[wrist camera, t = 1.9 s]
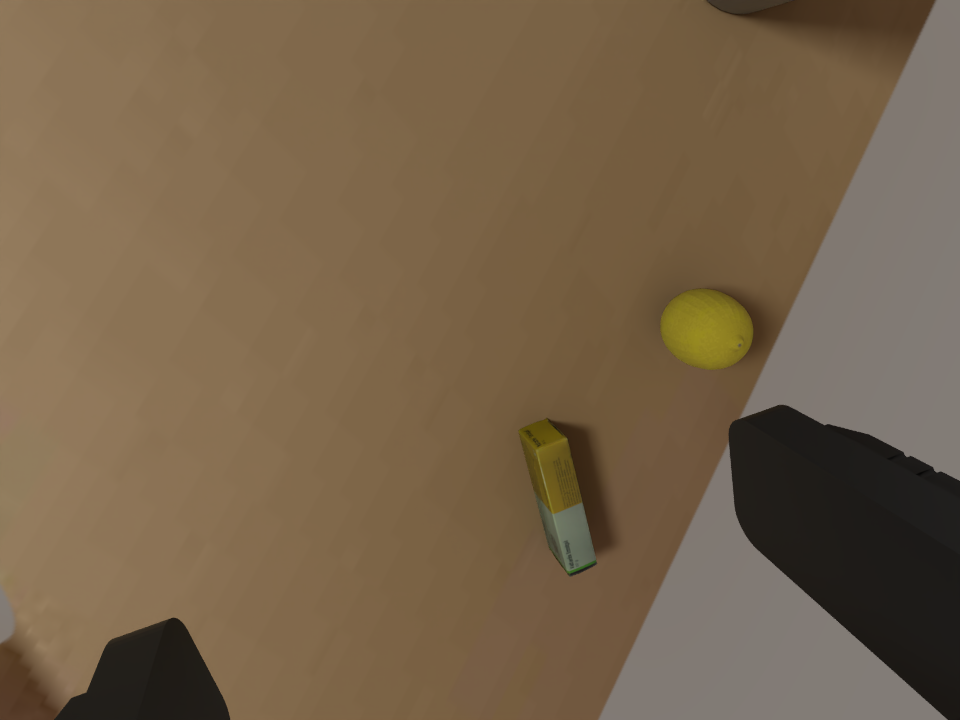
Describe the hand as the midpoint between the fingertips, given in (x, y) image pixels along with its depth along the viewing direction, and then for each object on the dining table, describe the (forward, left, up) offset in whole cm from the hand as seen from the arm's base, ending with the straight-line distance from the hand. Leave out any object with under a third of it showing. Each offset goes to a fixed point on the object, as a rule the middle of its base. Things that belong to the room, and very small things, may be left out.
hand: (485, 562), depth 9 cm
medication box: (-10, +23, -35) cm, 43 cm away
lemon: (-22, +12, -34) cm, 43 cm away
